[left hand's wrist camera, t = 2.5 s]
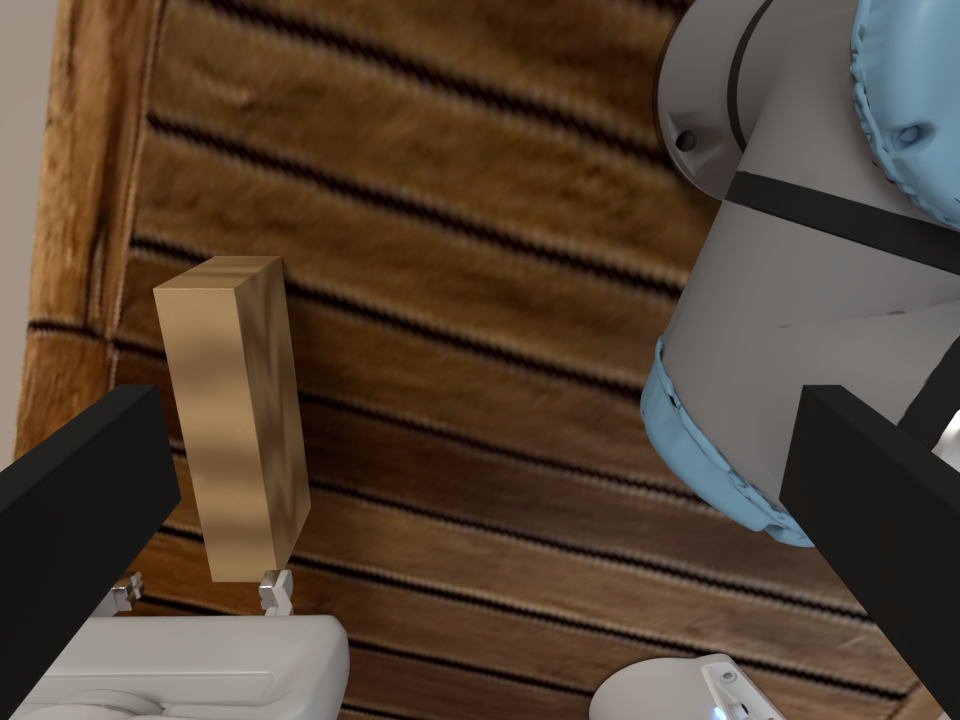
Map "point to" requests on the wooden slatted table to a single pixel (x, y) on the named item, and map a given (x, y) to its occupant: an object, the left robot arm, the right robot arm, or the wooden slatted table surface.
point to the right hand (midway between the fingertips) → (206, 578)
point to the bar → (238, 410)
